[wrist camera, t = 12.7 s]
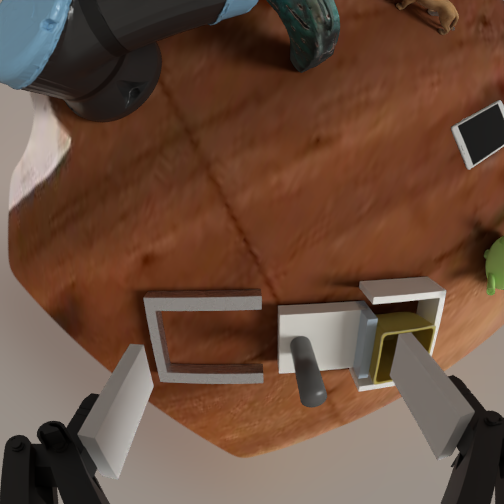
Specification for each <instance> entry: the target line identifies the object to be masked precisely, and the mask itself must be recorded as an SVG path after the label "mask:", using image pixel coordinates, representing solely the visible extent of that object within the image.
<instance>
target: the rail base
mask: <svg viewBox="0 0 504 504" xmlns="http://www.w3.org/2000/svg"><path fill="white" fill-rule="evenodd" d="M143 299H144V305H145V310H146V316H147V321H148V327H149V332H150V337H151V342H152V347H153V351H154V356H155V361H156V365H157V369H158V374H159V378H160V382H175V383H205V384H244V383H263V364H240V365H198V364H170V359H169V354H168V349H167V343H166V338H165V332H164V326H163V320H162V314H161V311H224V310H262V297H261V289H247V290H206V291H148V292H147V294H146V295H145V296H144V298H143Z"/></svg>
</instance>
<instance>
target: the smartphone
mask: <svg viewBox="0 0 504 504" xmlns="http://www.w3.org/2000/svg"><path fill="white" fill-rule="evenodd" d="M451 131H452V133H453V136H454V138H455V140H456V143H457V145H458V148H459V150H460V153H461V155H462V158H463V160H464V163H465V165H466V168H467V169H468V170H469V169H471V168H473V167H474V166H476V165H477V164H479V163H480V162H482V161H483V160H484V159H486V158H487V157H489V156H490V155H492V154H493V153H495V152H496V151H498V150H499V149H500V148H502V147H503V146H504V106H503V104H502V102H501V101H500V100H498V101H496V102H495V103H493V104H491V105H489V106H487V107H486V108H484V109H482V110H480V111H478V112H477V113H475V114H473V115H471V116H469V117H467V118H465V119H464V120H462V121H461V122H459V123H457V124H455V125H453V126H452V127H451Z"/></svg>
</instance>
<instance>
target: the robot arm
mask: <svg viewBox="0 0 504 504" xmlns="http://www.w3.org/2000/svg"><path fill="white" fill-rule="evenodd" d="M257 2H258V0H2V2H1V3H0V83H3V84H6V85H8V86H10V87H12V88H13V89H17V90H18V89H22V90H26V91H31V92H35V93H39V94H44V95H48V96H52V97H56V98H60V99H63V100H65V102H66V104H67V105H68V107H69V108H70V109H71V110H72V111H73V112H74V113H75V114H77V115H78V116H80V117H82V118H84V119H88V120H92V121H96V122H110V121H115V120H118V119H121V118H123V117H125V116H127V115H129V114H131V113H132V112H134V111H135V110H136V109H138V108H139V107H140V106H141V105H142V104H143V103H144V102H145V101H146V100H147V99H148V97H149V96H150V95H151V93H152V92H153V90H154V88H155V86H156V84H157V82H158V79H159V76H160V72H161V66H162V58H161V52H160V49H159V46H158V44H157V43H156V41H159V40H162V39H164V38H167V37H170V36H172V35H175V34H178V33H181V32H184V31H187V30H190V29H193V28H196V27H200V26H203V25H206V24H208V25H214V24H217V23H218V22H220V21H221V20H224V19H227V18H231V17H234V16H238V15H241V14H244V13H246V12H248V11H250V10H251V9H252V8H253V7H254V6H255V5H256V4H257ZM390 377H391V378H392V380H393V382H394V384H395V385H396V387H397V389H398V390H399V392H400V394H401V396H402V397H403V399H404V401H405V402H406V404H407V406H408V408H409V409H410V411H411V413H412V415H413V416H414V418H415V420H416V421H417V423H418V426H419V427H420V429H421V431H422V433H423V435H424V436H425V438H426V440H427V442H428V444H429V446H430V447H431V449H432V451H433V453H434V455H435V457H436V459H437V460H439V459H442V458H445V457H448V456H450V455H452V453H453V452H454V450H455V448H456V447H457V448H458V450H459V451H460V452H459V454H458V456H457V457H456V459H455V461H454V462H453V464H452V465H451V467H453V466H454V468H453V471H452V474H451V477H450V480H449V483H448V486H447V489H446V491H445V494H444V496H443V499H442V502H441V504H490V503H491V499H492V495H493V491H494V487H495V504H504V418H503V417H502V416H501V415H500V414H499V413H497V412H494V411H486V410H485V409H484V407H483V406H482V405H481V404H480V403H479V401H478V400H477V399H476V397H475V396H474V395H473V394H472V393H471V391H470V390H469V389H468V388H467V387H466V385H465V384H464V383H463V382H462V380H460V379H459V378H457V377H455V376H454V375H452V376H447V375H446V374H445V373H444V371H443V370H442V369H441V368H440V366H439V365H438V364H437V363H436V362H435V360H434V359H433V358H432V357H431V355H430V354H429V353H428V352H427V351H426V349H425V348H424V347H423V346H422V345H421V344H420V342H419V341H418V340H417V339H416V338H415V336H414V335H413V334H412V333H411V332H410V333H403V334H399V335H398V340H397V345H396V350H395V355H394V359H393V364H392V368H391V372H390ZM153 387H154V386H153V382H152V378H151V374H150V370H149V366H148V362H147V357H146V353H145V349H144V345H136V344H130V345H129V347H128V348H127V350H126V352H125V353H124V355H123V357H122V358H121V360H120V362H119V363H118V365H117V366H116V368H115V370H114V371H113V373H112V375H111V377H110V378H109V380H108V382H107V383H106V385H105V387H104V389H103V390H102V392H101V394H100V395H99V394H90V395H89V396H88V397H86V398H85V399H84V400H83V401H82V403H81V405H80V406H79V409H78V410H77V411H76V414H75V415H74V416H73V418H72V419H71V421H70V423H69V425H68V426H67V428H66V427H65V426H64V424H62V423H61V422H58V421H49V422H47V423H44V424H43V425H42V426H40V428H39V429H38V431H37V437H38V439H39V440H40V442H41V444H31V442H30V441H29V439H28V438H27V437H25V436H23V435H17V436H13V437H11V438H10V439H9V440H8V441H7V443H6V445H5V450H4V459H3V467H2V477H1V490H0V504H58V495H57V487H58V490H59V492H60V495H61V498H62V500H63V503H64V504H110V503H109V501H108V500H107V498H106V496H105V494H104V492H103V490H102V488H101V486H100V485H99V482H98V480H97V478H96V477H95V472H96V470H97V469H98V471H99V472H100V474H101V475H102V476H104V477H108V478H113V479H119V476H120V473H121V470H122V468H123V465H124V462H125V459H126V457H127V454H128V451H129V449H130V446H131V443H132V440H133V438H134V435H135V433H136V430H137V427H138V425H139V422H140V420H141V417H142V414H143V412H144V409H145V407H146V404H147V402H148V399H149V397H150V394H151V392H152V389H153Z"/></svg>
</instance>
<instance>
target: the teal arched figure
mask: <svg viewBox="0 0 504 504" xmlns="http://www.w3.org/2000/svg"><path fill="white" fill-rule="evenodd" d="M267 2H268V3H269V4H270V5H271V6H272V7H273V9H274V10H275V11H276V12H277V13H278V15H279V17H280V18H281V20H282V22H283V24H284V25H285V27H286V29H287V32H288V35H289V37H290V60H291V62H292V64H293V66H294V67H295V68H296V69H297V70H298V71H299V72H301V73H302V72H304V71H306V70H308V69H310V68H313V67H316V66H318V65H319V64H320V63H322V62H323V61H325V60H326V59H327V58H329V57H330V56H332V55H333V53H334V47H335V45H336V43H337V41H338V37H339V32H340V20H339V14H338V11H337V8H336V5H335V2H334V0H267Z"/></svg>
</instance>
